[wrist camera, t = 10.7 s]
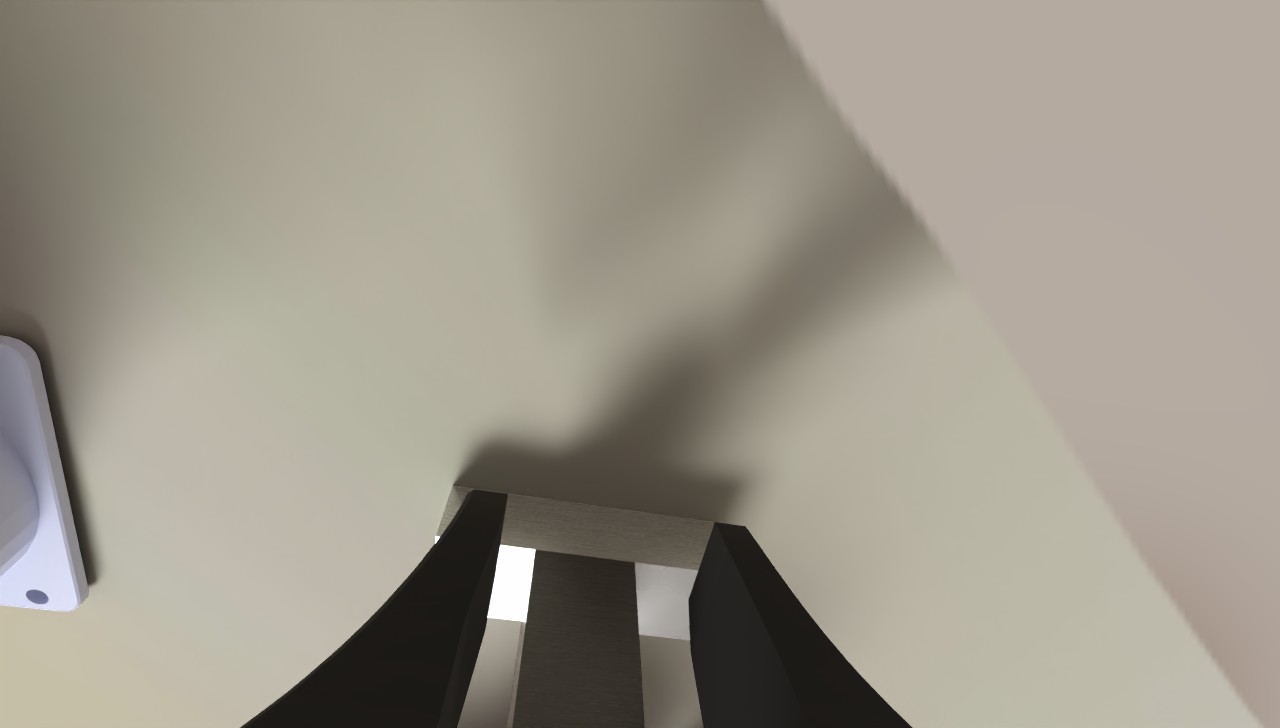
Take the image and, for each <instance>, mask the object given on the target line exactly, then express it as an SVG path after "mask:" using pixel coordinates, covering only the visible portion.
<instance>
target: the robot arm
mask: <svg viewBox="0 0 1280 728" xmlns="http://www.w3.org/2000/svg"><path fill="white" fill-rule="evenodd" d="M507 498H508V494H506V493H499V492H492V491H484V490H477V489H474V490H472V491H470V492H469V493H467V495H466V497H465V499H464V501H463V503H462V505H461V506H460V508H459V510H458V511H457V513H456V515H455V516H454V518H453V519H452V521H451V522H450V524H449V525H448V527H447V528H446V529H445V531H444V532H443V534H442V535H441V536H440V538H439V539H438V540H437V542H436V543H435V544H434V546H433V547H432V548H431V549H430V551H429V552H428V553H427V554H426V556H425V557H424V558H423V560H422V561H421V562H420V563H419V565H418V566H417V567H416V568H415V570H414V571H413V572H412V573H411V574H410V575H409V576H408V578H407V579H406V580H405V581H404V582H403V583H402V584H401V585H400V587H399V588H398V589H397V590H396V591H395V592H394V593H393V594H392V595H391V597H390V598H389V599H388V600H387V601H386V602H385V603H384V604H383V605H382V606H381V608H380V609H379V610H378V611H377V612H376V613H375V614H374V615H373V616H372V617H371V618H370V619H369V620H368V621H367V622H366V623H365V624H364V625H363V626H362V627H361V628H360V629H359V630H358V631H357V632H355V633H354V634H353V635H352V636H351V637H350V638H349V639H348V640H347V641H346V642H345V643H344V644H343V645H342V646H341V647H340V648H338V649H337V650H336V651H335V652H334V653H333V654H332V655H331V656H329V657H328V658H327V659H326V660H325V661H324V662H322V663H321V664H320V665H319V666H318V667H317V668H316V669H314V670H313V671H312V672H311V673H310V674H309V675H308V676H306V677H305V678H304V679H303V680H302V681H300V682H299V683H298V684H297V685H295V686H294V687H293V688H292V689H291V690H289V691H288V692H287V693H286V694H284V695H283V696H282V697H281V698H279V699H278V700H277V701H275V702H274V703H273V704H271V705H270V706H269V707H267V708H266V709H265V710H263V711H262V712H261V713H259V714H258V715H257V716H255V717H254V718H252V719H251V720H250V721H248V722H247V723H246V724H244V725H243V726H242V727H240V728H457V726H458V722H459V719H460V715H461V712H462V708H463V705H464V702H465V698H466V695H467V691H468V688H469V684H470V681H471V677H472V674H473V671H474V667H475V664H476V660H477V657H478V653H479V650H480V646H481V643H482V639H483V636H484V632H485V628H486V623H487V618H488V612H489V607H490V602H491V596H492V591H493V586H494V580H495V575H496V568H497V562H498V555H499V549H500V543H501V536H502V530H503V524H504V517H505V511H506V505H507ZM88 594H89V590H88V586H87V581H86V576H85V571H84V567H83V562H82V557H81V553H80V548H79V543H78V539H77V534H76V529H75V525H74V520H73V515H72V511H71V506H70V501H69V497H68V492H67V487H66V483H65V478H64V473H63V469H62V464H61V459H60V455H59V450H58V445H57V441H56V436H55V431H54V427H53V422H52V417H51V413H50V408H49V403H48V399H47V394H46V389H45V385H44V380H43V375H42V371H41V366H40V361H39V359H38V357H37V354H36V352H35V351H34V350H33V349H32V348H31V347H30V346H29V345H27V344H26V343H24V342H22V341H21V340H18V339H15V338H12V337H8V336H1V335H0V605H4V606H14V607H23V608H33V609H43V610H53V611H72V610H75V609H77V608H78V607H79V606H80V605H81V604H82V603H83V601H84V600H85V599H86V598H87V597H88ZM688 605H689V629H690V645H691V656H692V662H693V668H694V674H695V680H696V686H697V692H698V697H699V703H700V709H701V714H702V720H703V726H704V728H912V727H911V726H910V725H909V724H908V723H907V722H906V721H905V720H904V719H903V718H902V717H901V716H900V715H899V714H898V713H897V712H896V711H895V710H894V709H893V708H892V707H891V706H890V705H889V704H888V703H887V702H886V701H885V700H884V699H883V698H882V697H881V696H880V695H879V694H878V693H877V692H876V691H875V690H874V689H873V688H872V687H871V686H870V685H869V684H868V683H867V682H866V681H865V680H864V679H863V677H862V676H861V675H860V674H859V673H858V672H857V671H856V670H855V669H854V668H853V666H852V665H851V664H850V663H849V662H848V661H847V660H846V659H845V657H844V656H843V655H842V654H841V653H840V651H839V650H838V649H837V648H836V647H835V645H834V644H833V643H832V642H831V641H830V640H829V638H828V637H827V636H826V635H825V634H824V632H823V631H822V630H821V629H820V627H819V626H818V625H817V624H816V622H815V621H814V620H813V619H812V617H811V616H810V615H809V613H808V612H807V611H806V610H805V608H804V607H803V606H802V604H801V603H800V602H799V600H798V599H797V598H796V596H795V595H794V594H793V592H792V591H791V590H790V588H789V587H788V586H787V584H786V583H785V581H784V580H783V579H782V577H781V576H780V574H779V573H778V572H777V570H776V569H775V567H774V566H773V565H772V563H771V562H770V560H769V559H768V558H767V556H766V555H765V553H764V552H763V550H762V549H761V548H760V546H759V545H758V543H757V542H756V540H755V539H754V538H753V536H752V535H751V533H750V532H749V531H748V529H747V528H746V527H745V526H739V525H731V524H724V523H717V522H715V523H714V526H713V529H712V532H711V535H710V538H709V540H708V543H707V546H706V549H705V552H704V555H703V558H702V561H701V564H700V567H699V570H698V573H697V576H696V579H695V582H694V585H693V588H692V591H691V593H690V596H689V599H688Z"/></svg>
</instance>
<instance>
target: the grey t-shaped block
mask: <svg viewBox="0 0 1280 728" xmlns="http://www.w3.org/2000/svg"><path fill="white" fill-rule="evenodd" d="M474 489H477V488H469V487H462V486H455V485H453V486H452V489H451V493H450V496H449V499H448V502H447V505H446V508H445V511H444V514H443V517H442V520H441V523H440V526H439V529H438V532H437V535H436V541H435V543H436V542H437V540H438V539H439V538H440V536H441V535H442V534H443V532H444V531H445V529H446V528H447V527H448V525H449V524H450V522H451V521H452V519H453V518H454V516H455V515H456V513H457V511H458V510H459V508H460V506H461V505H462V503H463V501H464V499H465V497H466V495H467V493H469V492H470V491H472V490H474ZM477 490H484V489H477ZM484 491H491V490H484ZM492 492H498V491H492ZM499 493H505V492H499ZM506 494H508V498H507V505H506V511H505V517H504V524H503V530H502V536H501V543H500V549H499V555H498V562H497V568H496V575H495V580H494V586H493V591H492V596H491V602H490V607H489V612H488V618H496V619H505V620H514V621H522V622H521V630H520V637H519V644H518V651H517V659H516V666H515V673H514V680H513V688H512V695H511V702H510V709H509V717H508V724H507V728H644V711H643V694H642V677H641V660H640V643H639V635H646V636H655V637H664V638H673V639H681V640H690V629H689V605H688V599H689V596H690V593H691V591H692V588H693V585H694V582H695V579H696V576H697V573H698V570H699V567H700V564H701V561H702V558H703V555H704V552H705V549H706V546H707V543H708V540H709V538H710V535H711V532H712V529H713V526H714V523H715V522H714V521H706V520H699V519H692V518H685V517H678V516H671V515H663V514H656V513H649V512H642V511H635V510H627V509H620V508H613V507H606V506H599V505H592V504H584V503H577V502H570V501H563V500H556V499H548V498H541V497H534V496H527V495H520V494H513V493H506Z"/></svg>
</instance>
